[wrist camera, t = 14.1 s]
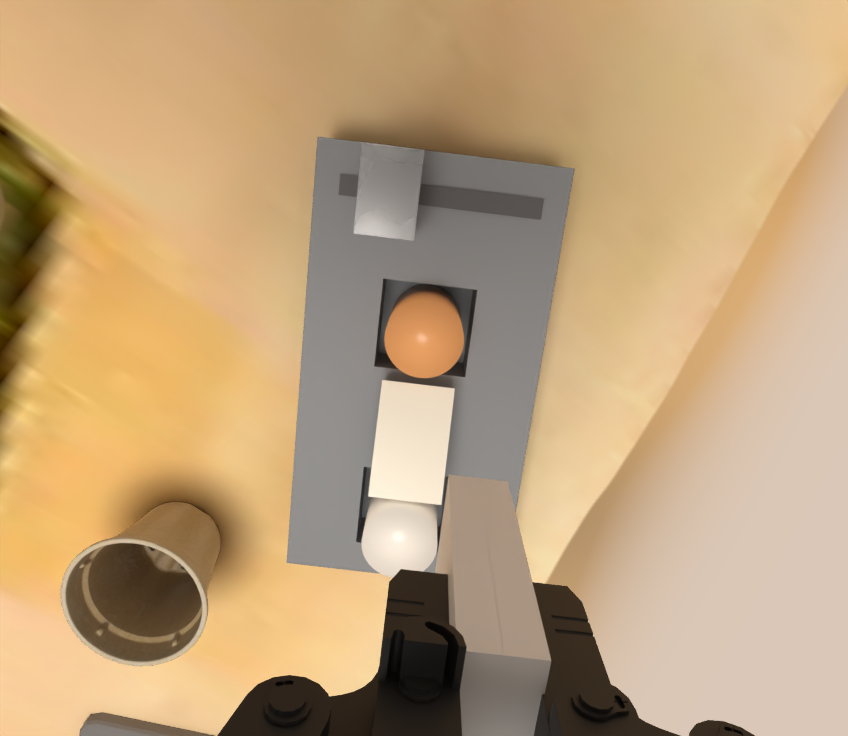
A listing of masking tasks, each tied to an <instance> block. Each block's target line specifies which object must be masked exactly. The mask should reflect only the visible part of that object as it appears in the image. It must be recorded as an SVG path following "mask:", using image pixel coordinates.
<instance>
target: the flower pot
mask: <svg viewBox="0 0 848 736" xmlns="http://www.w3.org/2000/svg"><path fill="white" fill-rule="evenodd" d="M220 546H221V540H220V533H219V530H218V528H217V526H216V524H215V522H214V521H213V519H212V518H211V517H210V516H209V515H208V514H206V513H204V512H202V511H200V510H199V509H197V508H196V507H194V506H193V505H192V504H188V503H183V502H169V503H165V504H162V505H159V506H157V507H155V508H153V509H152V510H151V511H150V512H148V513H147V514H146V515H145V516H144V517H142V518H141V519H140V520H138V521H137V522H136V523H134V524H133V525H132V526H130V527H129V528H128V529H126V530H125V531H124V532H122V533H121V534H119V535H118V536H116V537H113V538H110V539H106V540H103V541H100V542H97V543H95V544H93V545H91V546H89V547H88V548H86V549H85V550H83V551H82V552H81V553H80V554H79V555H77V557H76V558H75V559H74V560H73V561H72V562H71V564H70V565H69V567H68V568H67V570H66V572H65V574H64V577H63V580H62V585H61V605H62V608H63V612H64V615H65V617H66V619H67V622H68V624H69V625H70V627H71V629H72V630H73V632H74V633H75V634H76V636H77V637H78V638H79V639H80V640H81V641H82V642H83V643H84V644H85V645H86V646H88V647H89V648H90V649H92V650H93V651H94V652H95V653H97V654H99V655H101V656H103V657H105V658H107V659H109V660H112V661H115V662H117V663H120V664H126V665H132V666H151V665H152V666H153V665H157V664H161V663H165V662H168V661H171V660H173V659H175V658H177V657H179V656H181V655H182V654H184V653H185V652H187V651H188V650H189V649H190V648H191V647H192V646H193V645H194V644H195V643H196V641H197V640H198V639H199V637H200V636H201V634H202V632H203V630H204V627H205V624H206V620H207V615H208V599H207V589H208V586H209V582H210V579H211V576H212V573H213V569H214V566H215V563H216V560H217V557H218V555H219V551H220ZM151 547H152V548H154V550H152V549H151ZM182 566H183V567H184V568H185V569H183V568H182Z"/></svg>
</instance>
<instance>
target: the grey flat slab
mask: <svg viewBox="0 0 848 736" xmlns="http://www.w3.org/2000/svg"><path fill="white" fill-rule="evenodd" d="M79 736H213V735H209V734H204V733H199V732H194V731H189V730H184V729H180V728H175V727H170V726H165V725H160V724H156V723H151V722H146V721H141V720H136V719H132V718H127V717H122V716H117V715H112V714H107V713H96V714H91V715H90V716H89V718H88V719H87V720H86V722H85V723H84V725H83V726H82V728H81V729H80V735H79Z"/></svg>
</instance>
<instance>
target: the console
mask: <svg viewBox="0 0 848 736" xmlns="http://www.w3.org/2000/svg"><path fill="white" fill-rule="evenodd" d="M361 145H362V142H357V141H349V140H341V139H333V138H325V137H318V139H317V152H316V166H315V180H314V194H313V208H312V221H311V235H310V249H309V263H308V276H307V290H306V304H305V318H304V331H303V345H302V359H301V373H300V386H299V400H298V414H297V428H296V441H295V455H294V469H293V483H292V496H291V510H290V524H289V538H288V551H287V563H292V564H301V565H310V566H318V567H327V568H336V569H345V570H353V571H362V572H371V573H379V572H377V571H376V570H374V569H373V568H372V567H371V566H370V565H369V564H368V562H367V561H366V559H365V557H364V555H363V552H362V546H361V544H362V536H363V531H364V526H365V521H366V516H367V512H368V507H369V502H370V497H368V493H369V485H370V477H371V468H372V460H373V452H374V444H375V435H376V427H377V419H378V411H379V402H380V394H381V386H382V380H387V381H395V382H404V383H412V384H420V385H429V386H437V387H446V388H454V389H455V392H454V400H453V409H452V418H451V426H450V435H449V443H448V452H447V461H446V469H445V478H444V486H443V495H442V503H441V505H437V552H436V555H435V558H434V560H433V562H432V563H431V564H430V566H429V567H428V568H427V569H425V570H424V571H423V572H431V573H435V569H436V562H437V555H438V548H439V541H440V533H441V526H442V519H443V512H444V505H445V498H446V491H447V484H448V476H449V474H450V475H458V476H467V477H475V478H484V479H492V480H501V481H508V484H509V488H510V492H511V496H512V500H513V505H514V509H515V512H516V506H517V500H518V494H519V489H520V483H521V477H522V471H523V465H524V460H525V454H526V448H527V442H528V436H529V431H530V425H531V419H532V413H533V407H534V401H535V396H536V390H537V384H538V378H539V372H540V367H541V361H542V355H543V349H544V343H545V338H546V332H547V326H548V320H549V314H550V309H551V303H552V297H553V291H554V285H555V279H556V274H557V268H558V262H559V256H560V250H561V245H562V239H563V233H564V227H565V221H566V216H567V210H568V204H569V198H570V192H571V187H572V181H573V175H574V169H573V168H565V167H557V166H549V165H541V164H533V163H525V162H517V161H509V160H501V159H493V158H485V157H477V156H469V155H461V154H453V153H445V152H437V151H429V150H425V152H424V161H423V169H422V178H421V187H420V196H419V205H418V213H417V222H416V231H415V240H414V241H411V240H403V239H395V238H387V237H379V236H371V235H362V234H354V223H355V212H356V201H357V190H358V179H359V168H360V156H361ZM420 285H431V286H436V287H439V288H441V289H443V290H444V291H446V292H447V293H448V294H450V295H451V297H452V298H453V299H454V300H455V302H456V304H457V306H458V308H459V312H460V317H461V323H462V328H463V333H464V346H463V350H462V353H461V355H460V357H459V359H458V361H457V362H456V363H455V365H454V366H453V367H452V368H451V369H449V370H448V371H447V372H445V373H443V374H441V375H439V376H436V377H432V378H417V377H413V376H410V375H408V374H405V373H404V372H402V371H401V370H399V369H398V368H397V367H396V366H395V365H394V364H393V363H392V361H391V360H390V358H389V356H388V354H387V352H386V348H385V342H384V337H385V330H386V327H387V324H388V321H389V318H390V315H391V312H392V309H393V306H394V304H395V302H396V301H397V299H398V298H399V297H400V296H401V295H402V294H403V293H404V292H405V291H407V290H408V289H410V288H413V287H416V286H420Z"/></svg>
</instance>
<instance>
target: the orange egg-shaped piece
mask: <svg viewBox="0 0 848 736" xmlns="http://www.w3.org/2000/svg"><path fill="white" fill-rule="evenodd" d="M384 342H385V348H386V352H387V354H388V356H389V358H390V360H391V361H392V363H393V364H394V365H395V366H396V367H397V368H398V369H399V370H401V371H402V372H404V373H405V374H408V375H410V376H413V377H417V378H432V377H436V376H439V375H441V374H443V373H445V372H447V371H448V370H449V369H451V368H452V367H453V366H454V365H455V363H456V362H457V361H458V359H459V357H460V355H461V353H462V350H463V346H464V333H463V328H462V323H461V317H460V312H459V308H458V306H457V304H456V302H455V300H454V299H453V298H452V297H451V295H450V294H448V293H447V292H446V291H444V290H443V289H441V288H439V287H436V286H431V285H420V286H416V287H413V288H410V289H408V290H407V291H405V292H404V293H403V294H402V295H401V296H400V297H399V298H398V299H397V301H396V302H395V304H394V306H393V309H392V312H391V315H390V318H389V321H388V324H387V327H386V330H385V337H384Z"/></svg>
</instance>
